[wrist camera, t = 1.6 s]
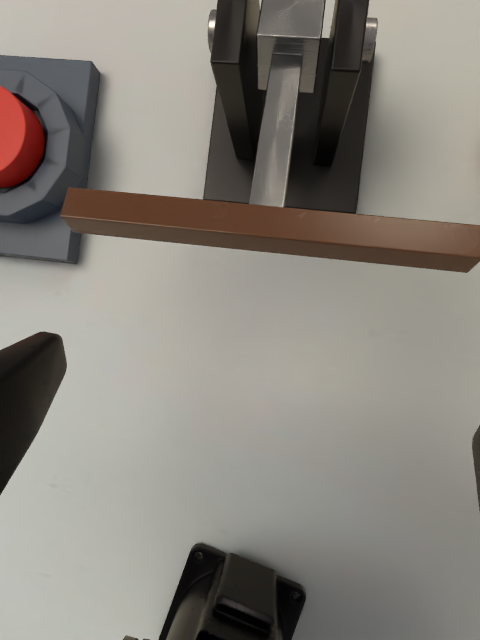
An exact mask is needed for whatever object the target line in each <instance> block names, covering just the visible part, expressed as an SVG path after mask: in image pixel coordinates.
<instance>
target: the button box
mask: <svg viewBox="0 0 480 640" xmlns="http://www.w3.org/2000/svg"><path fill="white" fill-rule="evenodd" d="M99 80H100V72H99V71H98V69H97V68H96V66H95V65H94V64H93V62H92V61H81V60H65V59H50V58H35V57H19V56H4V55H0V86H1V87H3V88H5V89H6V90H8V91H9V92H11V93H12V94H13V95H14V96H15V97H16V98H18V99H19V100H20V101H21V102H22V103H23V104H24V105H26V106H27V107H28V108H29V109H30V110H31V111H32V112H33V113H34V114H35V115H36V117H37V118H38V120H39V122H40V124H41V126H42V129H43V133H44V141H45V143H44V152H43V156H42V159H41V161H40V163H39V165H38V167H37V168H36V170H35V171H34V172H33V173H32V175H30V176H29V177H28V178H27V179H26V180H24V181H23V182H21V183H19V184H17V185H15V186H12V187H7V188H0V256H9V257H18V258H28V259H37V260H46V261H55V262H64V263H73V264H77V260H78V252H79V244H80V235H81V233H75V232H73V231H72V230H71V229H70V227H69V226H68V225H67V224H66V223H65V222H64V220H63V219H62V218H61V217H60V214H61V211H62V207H63V204H64V200H65V197H66V193H67V190H68V188H69V187H71V188H82V189H86V186H87V178H88V170H89V162H90V153H91V145H92V137H93V129H94V121H95V112H96V104H97V96H98V88H99Z"/></svg>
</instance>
